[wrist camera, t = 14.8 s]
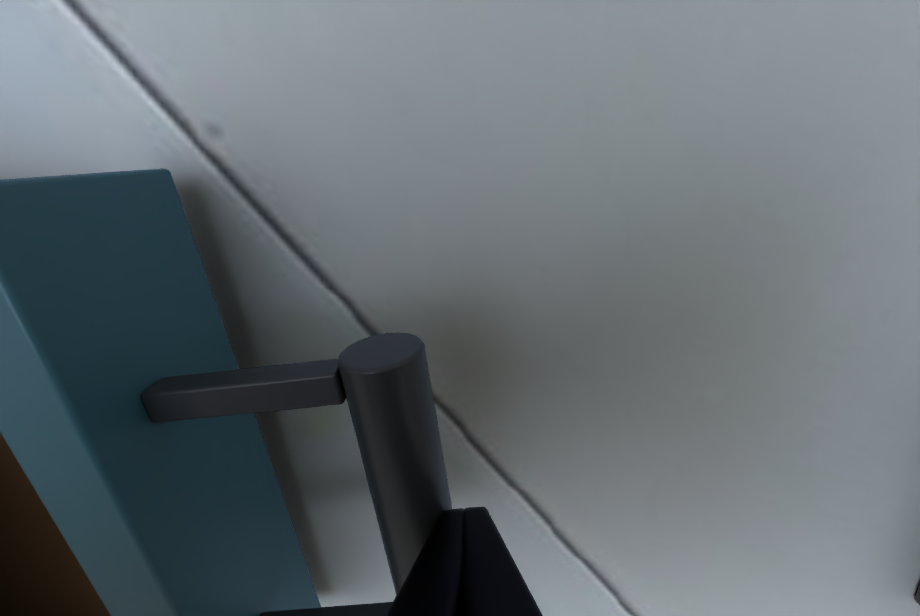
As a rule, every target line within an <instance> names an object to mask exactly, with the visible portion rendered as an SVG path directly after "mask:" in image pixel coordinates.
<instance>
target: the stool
mask: <svg viewBox="0 0 920 616" xmlns="http://www.w3.org/2000/svg"><path fill="white" fill-rule="evenodd" d="M915 601H916V602H917V603H918V604H919V605H920V585H919V588H918V590H917V593H916V596H915Z"/></svg>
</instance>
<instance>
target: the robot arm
mask: <svg viewBox="0 0 920 616" xmlns="http://www.w3.org/2000/svg"><path fill="white" fill-rule="evenodd" d="M386 616H543V615H542V614H541V612H540V610H539V608H538V606H537V604H536V602H535V600H534V598H533V596H532V594H531V593H530V591H529V589H528V587H527V585H526V583H525V581H524V579H523V577H522V575H521V573H520V572H519V570H518V568H517V566H516V564H515V562H514V560H513V558H512V556H511V554H510V552H509V550H508V549H507V547H506V545H505V543H504V541H503V539H502V537H501V535H500V533H499V531H498V529H497V528H496V526H495V524H494V522H493V520H492V518H491V516H490V514H489V512H488V510H487V509H486V508H485V507H471V508H465V509H462V508H460V509H450V510H444V511H443V512H442V513H441V515H440V516H439V518H438V520H437V522H436V524H435V526H434V527H433V529H432V531H431V533H430V535H429V537H428V539H427V540H426V542H425V544H424V546H423V548H422V550H421V551H420V553H419V555H418V557H417V559H416V561H415V563H414V564H413V566H412V568H411V570H410V572H409V574H408V576H407V577H406V579H405V581H404V583H403V585H402V587H401V588H400V590H399V592H398V594H397V596H396V598H395V600H394V601H393V603H392V605H391V607H390V609H389V611H388V613H387V614H386Z"/></svg>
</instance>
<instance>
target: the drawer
mask: <svg viewBox="0 0 920 616" xmlns="http://www.w3.org/2000/svg"><path fill="white" fill-rule="evenodd" d="M346 398H347V402H348V406H349V410H350V414H351V418H352V422H353V426H354V430H355V433H356V437H357V441H358V445H359V449H360V453H361V457H362V461H363V465H364V469H365V473H366V477H367V481H368V485H369V489H370V493H371V497H372V501H373V505H374V509H375V513H376V516H377V520H378V524H379V528H380V532H381V536H382V540H383V544H384V548H385V552H386V556H387V560H388V564H389V568H390V572H391V576H392V580H393V584H394V588H395V592H396V595H397V594H398V592H399V590H400V588H401V587H402V585H403V583H404V581H405V579H406V577H407V576H408V574H409V572H410V570H411V568H412V566H413V564H414V563H415V561H416V559H417V557H418V555H419V553H420V551H421V550H422V548H423V546H424V544H425V542H426V540H427V539H428V537H429V535H430V533H431V531H432V529H433V527H434V526H435V524H436V522H437V520H438V518H439V516H440V515H441V513H442V512H443V511H444V510H450V509H452V504H451V498H450V493H449V487H448V481H447V475H446V469H445V463H444V457H443V452H442V446H441V440H440V434H439V428H438V422H437V416H436V410H435V405H434V399H433V393H432V387H431V381H430V375H429V369H428V364H427V358H426V352H425V346H424V343H423V341H422V340H421V339H420V338H419V337H418V336H416V335H413V334H409V333H399V332H396V333H385V334H379V335H374V336H371V337H368V338H365V339H362V340H360V341H357V342H355V343H353V344H352V345H350V346H348V347H347V348H346V349H345V350H344V351H343V352H342V353H341V354H340V356H339V359H330V360H320V361H311V362H302V363H293V364H283V365H274V366H265V367H256V368H246V369H238V366H237V363H236V360H235V357H234V354H233V351H232V348H231V346H230V343H229V340H228V337H227V334H226V331H225V328H224V325H223V322H222V320H221V317H220V314H219V311H218V308H217V305H216V302H215V299H214V296H213V294H212V291H211V288H210V285H209V282H208V279H207V276H206V273H205V270H204V268H203V265H202V262H201V259H200V256H199V253H198V250H197V247H196V244H195V242H194V239H193V236H192V233H191V230H190V227H189V224H188V221H187V218H186V216H185V213H184V210H183V207H182V204H181V201H180V198H179V195H178V192H177V190H176V187H175V184H174V181H173V178H172V175H171V173H170V171H169V170H167V169H149V170H135V171H120V172H106V173H91V174H77V175H62V176H48V177H34V178H19V179H5V180H0V616H386V614H387V613H388V611H389V609H390V607H391V605H392V603H393V602H386V603H372V604H359V605H346V606H333V607H321V605H320V603H319V600H318V597H317V594H316V591H315V588H314V585H313V582H312V579H311V577H310V574H309V571H308V568H307V565H306V562H305V559H304V556H303V554H302V551H301V548H300V545H299V542H298V539H297V536H296V533H295V530H294V528H293V525H292V522H291V519H290V516H289V513H288V510H287V507H286V504H285V502H284V499H283V496H282V493H281V490H280V487H279V484H278V481H277V478H276V476H275V473H274V470H273V467H272V464H271V461H270V458H269V455H268V452H267V450H266V447H265V444H264V441H263V438H262V435H261V432H260V429H259V426H258V424H257V421H256V418H255V415H254V413H260V412H270V411H279V410H289V409H299V408H309V407H319V406H328V405H338V404H342V403H344V401H345V399H346Z"/></svg>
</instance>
